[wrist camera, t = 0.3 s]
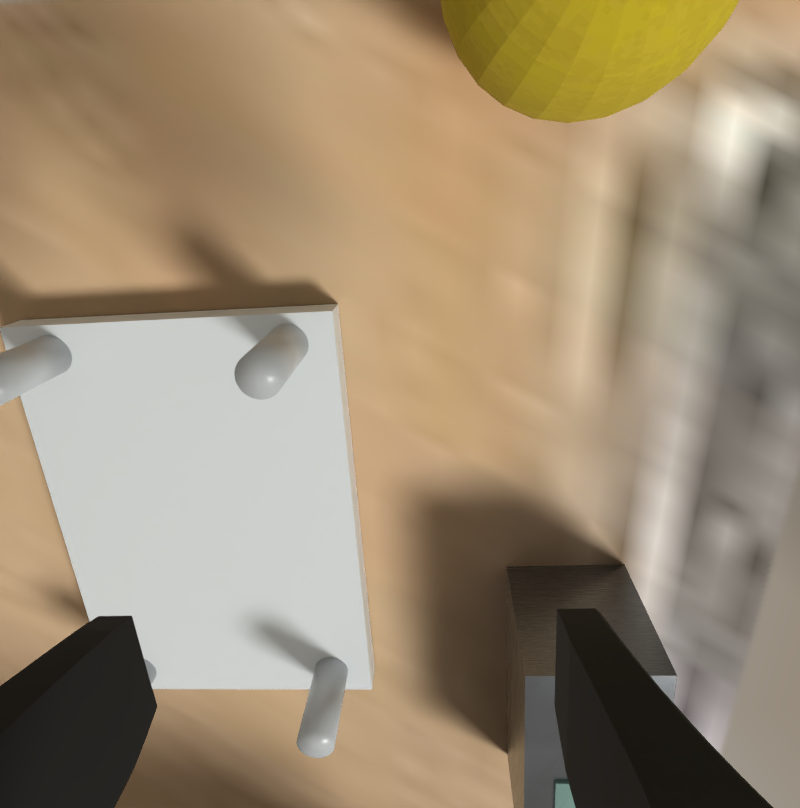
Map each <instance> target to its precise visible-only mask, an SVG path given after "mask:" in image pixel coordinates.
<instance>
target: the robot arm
mask: <svg viewBox="0 0 800 808" xmlns="http://www.w3.org/2000/svg"><path fill="white" fill-rule="evenodd" d="M554 706H555V712H556V718H557V724H558V730H559V736H560V742H561V748H562V753H563V759H564V765H565V770H566V774H567V778H568V782H569V786H570V789H571V793H572V797H573V800H574V804H575V808H773V807H772V806H771V805H770V804H769V803H768V802H767V801H766V800H765V799H764V798H763V797H762V796H761V795H760V794H759V793H758V792H757V791H756V790H755V789H754V788H753V787H751V785H750V784H749V783H748V782H747V781H746V780H745V779H744V778H743V777H741V775H740V774H739V773H738V772H737V771H736V770H735V769H734V768H733V767H732V766H731V765H730V764H729V763H728V762H727V761H726V760H725V759H724V758H723V757H722V756H721V755H720V754H719V753H718V752H717V750H716V749H715V748H714V747H713V746H712V745H711V744H710V743H709V742H708V741H707V740H706V739H705V738H704V737H703V736H702V734H701V733H700V732H699V731H698V730H697V729H696V728H695V727H694V726H693V725H692V724H691V722H690V721H689V720H688V719H687V718H686V717H685V716H684V714H683V713H682V712H681V711H680V710H679V709H678V708H677V707H676V705H675V704H674V703H673V702H672V701H671V700H670V699H669V697H668V696H667V695H666V694H665V693H664V692H663V691H662V689H661V688H660V687H659V686H658V685H657V684H656V682H655V681H654V680H653V679H652V678H651V676H650V675H649V674H648V673H647V672H646V670H645V669H644V668H643V667H642V665H641V664H640V663H639V662H638V660H637V659H636V658H635V657H634V656H633V654H632V653H631V652H630V651H629V649H628V648H627V647H626V645H625V644H624V643H623V642H622V640H621V639H620V638H619V636H618V635H617V634H616V633H615V631H614V630H613V629H612V627H611V626H610V625H609V623H608V622H607V621H606V619H605V618H604V617H603V615H602V614H601V613H600V612H599V611H598V610H597V609H596V608H585V609H557V624H556V663H555V702H554ZM156 708H157V704H156V700H155V697H154V693H153V690H152V686H151V682H150V679H149V675H148V672H147V668H146V665H145V661H144V657H143V654H142V650H141V647H140V643H139V639H138V636H137V632H136V629H135V625H134V621H133V618H132V616H98V617H96V618H95V619H93V620H92V621H90V622H89V623H87V624H86V625H84V626H83V627H81V628H80V629H78V630H77V631H75V632H74V633H73V634H71V635H70V636H68V637H67V638H65V639H64V640H63V641H61V642H60V643H59V644H57V645H56V646H54V647H53V648H52V649H50V650H49V651H48V652H46V653H45V654H43V655H42V656H41V657H39V658H38V659H37V660H35V661H34V662H33V663H31V664H30V665H28V666H27V667H26V668H24V669H23V670H22V671H20V672H19V673H18V674H16V675H15V676H13V677H12V678H11V679H9V680H8V681H7V682H5V683H4V684H2V685H1V686H0V808H114V807H115V805H116V803H117V801H118V799H119V797H120V795H121V794H122V792H123V790H124V788H125V786H126V784H127V782H128V780H129V778H130V775H131V773H132V771H133V769H134V767H135V764H136V762H137V759H138V757H139V754H140V752H141V749H142V747H143V744H144V742H145V739H146V736H147V733H148V731H149V728H150V725H151V722H152V719H153V717H154V714H155V711H156Z"/></svg>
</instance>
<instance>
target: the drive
mask: <svg viewBox="0 0 800 808" xmlns="http://www.w3.org/2000/svg"><path fill="white" fill-rule="evenodd" d="M585 608H596V609H597V610H598V611H599V612H600V613H601V614H602V615H603V617H604V618H605V619H606V621H607V622H608V623H609V625H610V626H611V627H612V629H613V630H614V631H615V633H616V634H617V635H618V636H619V638H620V639H621V640H622V642H623V643H624V644H625V645H626V647H627V648H628V649H629V651H630V652H631V653H632V654H633V656H634V657H635V658H636V659H637V660H638V662H639V663H640V664H641V665H642V667H643V668H644V669H645V670H646V672H647V673H648V674H649V675H650V676H651V678H652V679H653V680H654V681H655V682H656V684H657V685H658V686H659V687H660V688H661V689H662V691H663V692H664V693H665V694H666V695H667V696H668V697H669V699H670V700H671V701H672V702H673V703H674V695H675V687H676V679H677V675H676V673H675V670H674V668H673V666H672V664H671V662H670V660H669V658H668V656H667V654H666V651H665V649H664V647H663V645H662V643H661V641H660V639H659V637H658V635H657V633H656V630H655V628H654V626H653V624H652V622H651V620H650V618H649V616H648V614H647V611H646V609H645V607H644V605H643V603H642V601H641V599H640V597H639V595H638V592H637V590H636V588H635V586H634V584H633V582H632V580H631V578H630V576H629V573H628V571H627V569H626V567H625V565H577V566H523V567H507V745H508V762H509V771H510V779H511V788H512V796H513V805H514V808H575V804H574V800H573V797H572V793H571V789H570V786H569V782H568V778H567V774H566V770H565V765H564V759H563V753H562V748H561V742H560V736H559V730H558V724H557V718H556V712H555V706H554V702H555V663H556V624H557V609H585Z"/></svg>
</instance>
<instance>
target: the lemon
mask: <svg viewBox="0 0 800 808" xmlns="http://www.w3.org/2000/svg"><path fill="white" fill-rule="evenodd" d="M440 1H441V7H442V14H443V20H444V22H445V25H446V27H447V30H448V32H449V35H450V37H451V40H452V43H453V45H454V48H455V50H456V53H457V55H458V57H459V59H460V60H461V61H462V63H463V64H464V66H465V67H466V68H467V70H468V71H469V73H470V74H471V76H472V77H473V78H474V80H475V81H476V83H477V84H478V85H479V86H480V87H481V88H482V89H484V90H485V91H486V92H487V93H489V94H490V95H491V96H492V97H493V98H495V99H496V100H497V101H498V102H500V103H501V104H502V105H503V106H505V107H508V108H510V109H512V110H515V111H517V112H519V113H522V114H524V115H526V116H529V117H531V118H534V119H541V120H549V121H557V122H564V123H571V122H577V121H584V120H591V119H598V118H603V117H607V116H609V115H612V114H614V113H616V112H619V111H621V110H623V109H626V108H628V107H631V106H633V105H635V104H638V103H640V102H642V101H644V100H646V99H647V98H649V97H650V96H651V95H653V94H654V93H656V92H657V91H658V90H660V89H661V88H662V87H664V86H665V85H666V84H668V83H669V82H671V81H672V80H673V79H675V78H676V77H677V76H679V75H680V74H681V73H683V72H684V71H685V70H686V69H687V68H688V67H689V66H690V65H691V63H692V62H693V61H694V60H695V59H696V58H697V57H698V56H699V54H700V53H701V52H702V51H703V50H704V49H705V48H706V46H707V45H708V44H709V43H710V42H711V41H712V40H713V39H714V37H715V36H716V35H717V34H718V33H719V32H720V31H721V29H722V28H723V27H724V25H725V24H726V22H727V21H728V19H729V17H730V15H731V14H732V12H733V10H734V8H735V7H736V5H737V3H738V1H739V0H440Z"/></svg>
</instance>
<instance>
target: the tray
mask: <svg viewBox="0 0 800 808" xmlns="http://www.w3.org/2000/svg"><path fill="white" fill-rule="evenodd" d="M0 332H1V335H2V339H3V342H4V345H5V348H6V351H4V352H2V353H0V405H2V404H4V403H6V402H8V401H10V400H12V399H14V398H16V397H18V396H20V397H21V400H22V404H23V407H24V410H25V413H26V417H27V420H28V423H29V426H30V430H31V433H32V436H33V439H34V443H35V446H36V449H37V452H38V456H39V459H40V462H41V465H42V469H43V472H44V475H45V478H46V482H47V485H48V488H49V491H50V495H51V498H52V501H53V504H54V508H55V511H56V514H57V517H58V521H59V524H60V527H61V530H62V534H63V537H64V540H65V543H66V547H67V550H68V553H69V556H70V560H71V563H72V566H73V569H74V573H75V576H76V579H77V582H78V586H79V589H80V592H81V595H82V599H83V602H84V605H85V608H86V612H87V615H88V618H89V621H92V620H93V619H95V618H96V617H98V616H132V618H133V621H134V625H135V629H136V632H137V636H138V639H139V643H140V647H141V650H142V654H143V657H144V661H145V665H146V668H147V672H148V675H149V679H150V682H151V686H152V689H310V691H309V694H308V698H307V702H306V706H305V710H304V714H303V718H302V722H301V726H300V730H299V734H298V738H297V746H298V748H299V750H300V751H301V752H302V753H304V754H305V755H307V756H310V757H314V758H322V757H326V756H328V755H330V754H331V753H332V752H333V750H334V746H335V741H336V736H337V730H338V725H339V719H340V714H341V708H342V703H343V698H344V692H345V689H372V686H373V678H374V670H375V666H374V656H373V646H372V636H371V626H370V616H369V606H368V596H367V586H366V576H365V566H364V556H363V546H362V536H361V526H360V516H359V506H358V496H357V486H356V476H355V466H354V456H353V446H352V437H351V427H350V417H349V407H348V397H347V387H346V377H345V367H344V357H343V347H342V337H341V327H340V317H339V307H338V304H325V305H306V306H286V307H267V308H247V309H227V310H208V311H188V312H168V313H149V314H129V315H110V316H90V317H70V318H51V319H31V320H20V321H17V322H14V323H11V324H8V325H5V326H2V327H0Z"/></svg>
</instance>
